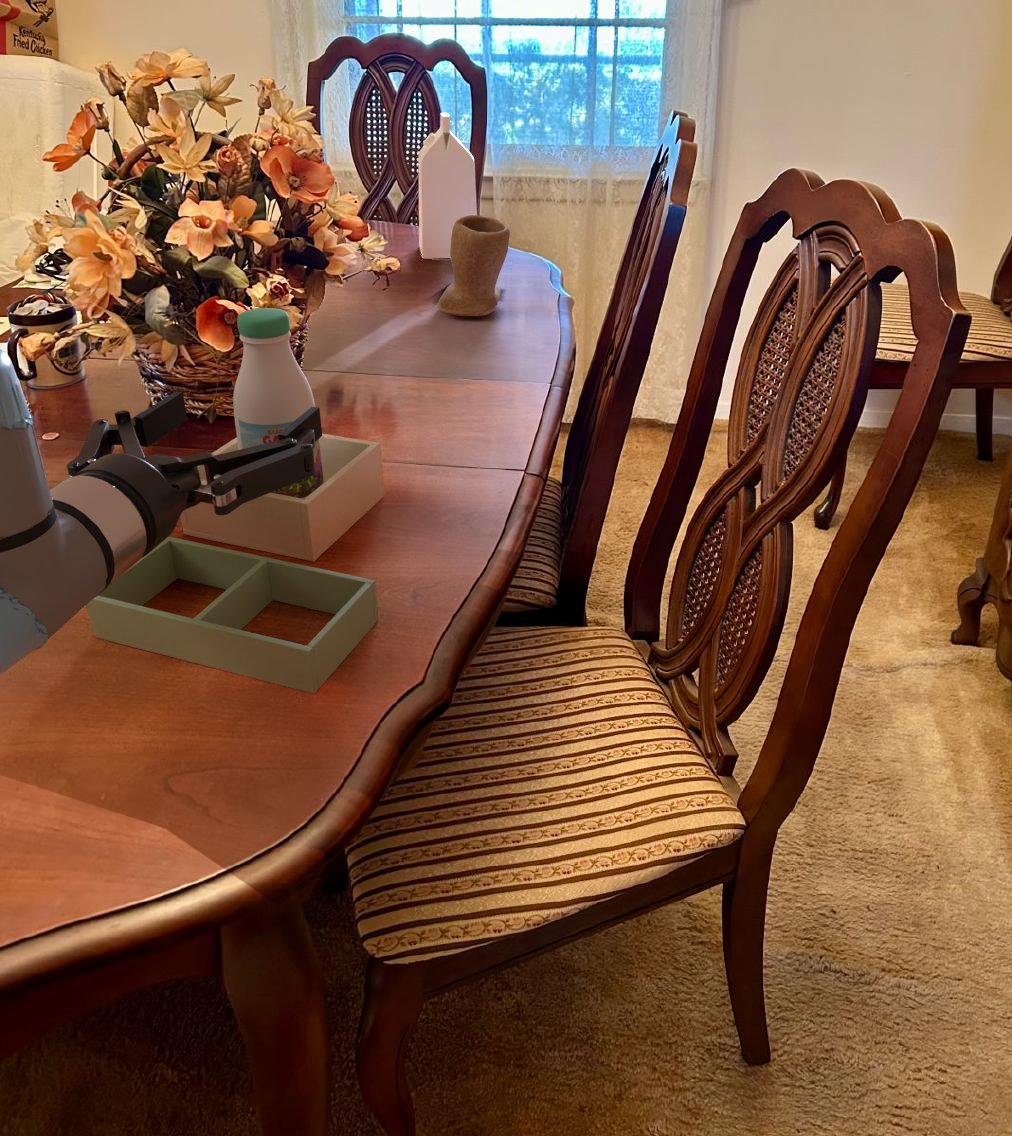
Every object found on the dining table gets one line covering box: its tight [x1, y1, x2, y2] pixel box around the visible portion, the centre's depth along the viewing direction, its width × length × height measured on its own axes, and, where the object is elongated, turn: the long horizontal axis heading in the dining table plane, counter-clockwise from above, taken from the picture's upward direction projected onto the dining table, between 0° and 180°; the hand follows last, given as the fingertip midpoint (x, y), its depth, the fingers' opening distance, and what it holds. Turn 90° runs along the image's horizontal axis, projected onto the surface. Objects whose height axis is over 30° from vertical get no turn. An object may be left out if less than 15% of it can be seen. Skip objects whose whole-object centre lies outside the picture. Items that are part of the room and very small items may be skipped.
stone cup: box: [437, 214, 511, 317], centre depth 155 cm, size 15×12×15 cm
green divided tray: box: [85, 536, 379, 695], centre depth 77 cm, size 21×11×4 cm, turn 70°
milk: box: [417, 112, 478, 258], centre depth 188 cm, size 12×12×26 cm
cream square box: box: [179, 432, 385, 563], centre depth 93 cm, size 15×15×6 cm
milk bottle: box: [232, 307, 324, 499], centre depth 89 cm, size 8×8×20 cm
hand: (248, 413), depth 85 cm, fingers open, 13 cm apart
